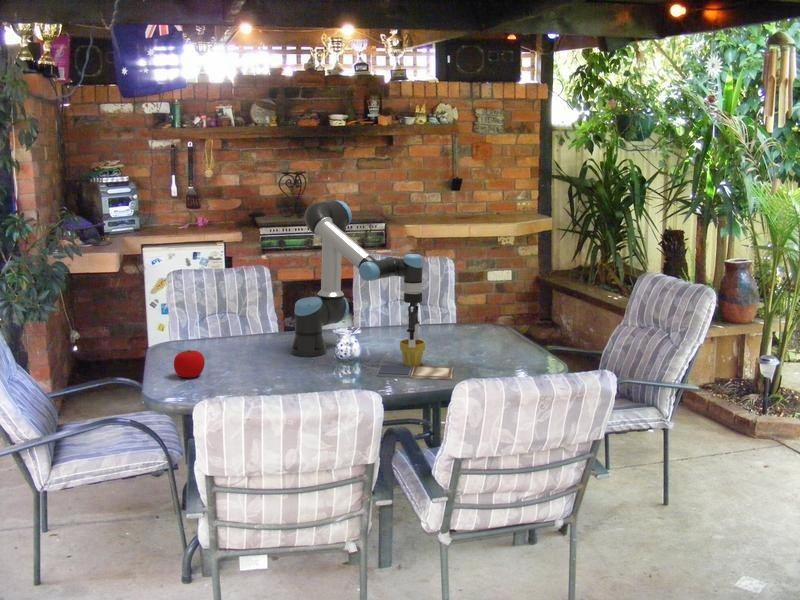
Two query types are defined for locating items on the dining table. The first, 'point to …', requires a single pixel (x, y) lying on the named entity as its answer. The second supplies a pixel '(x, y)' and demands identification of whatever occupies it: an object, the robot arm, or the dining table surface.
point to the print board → (432, 372)
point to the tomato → (189, 364)
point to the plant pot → (412, 352)
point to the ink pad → (394, 371)
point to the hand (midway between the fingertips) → (413, 343)
